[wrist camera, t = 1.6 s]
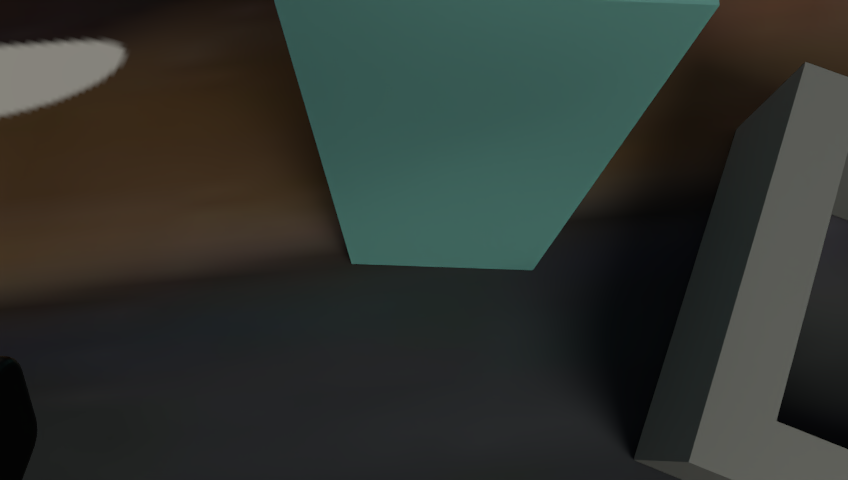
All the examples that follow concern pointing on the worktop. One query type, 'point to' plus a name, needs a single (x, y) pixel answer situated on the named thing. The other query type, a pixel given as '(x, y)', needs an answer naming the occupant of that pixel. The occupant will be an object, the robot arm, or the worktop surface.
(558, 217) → the teal peg
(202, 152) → the worktop surface
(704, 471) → the socket block
